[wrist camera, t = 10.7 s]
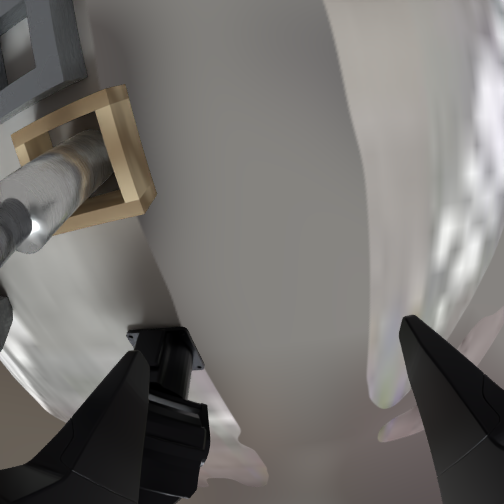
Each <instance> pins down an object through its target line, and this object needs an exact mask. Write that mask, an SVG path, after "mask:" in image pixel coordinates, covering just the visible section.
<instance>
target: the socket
mask: <svg viewBox="0 0 504 504" xmlns="http://www.w3.org/2000/svg"><path fill="white" fill-rule="evenodd" d="M26 17H27V18H28V25H29V32H30V38H31V44H32V49H33V54H34V59H35V64H36V68H34V69H33V70H31V71H30V72H28V73H26V74H25V75H23V76H22V77H20V78H19V79H17V80H16V81H14V82H13V83H11V84H10V85H8V82H7V78H6V73H5V68H4V62H3V57H2V51H1V45H0V124H2V123H3V122H5V121H7V120H8V119H10V118H11V117H13V116H14V115H16V114H18V113H19V112H21V111H23V110H24V109H26V108H28V107H29V106H31V105H33V104H35V103H36V102H38V101H40V100H42V99H44V98H45V97H47V96H49V95H51V94H53V93H55V92H57V91H59V90H61V89H63V88H65V87H67V86H69V85H71V84H73V83H75V82H77V81H79V80H82V79H84V78H86V77H88V76H87V72H86V68H85V63H84V59H83V55H82V50H81V45H80V40H79V36H78V30H77V25H76V20H75V14H74V8H73V2H72V0H0V36H1V35H2V34H4V33H5V32H6V31H8V30H9V29H10V28H12V27H13V26H14V25H16V24H17V23H18V22H20V21H21V20H23V19H24V18H26Z"/></svg>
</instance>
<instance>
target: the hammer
mask: <svg viewBox="0 0 504 504" xmlns="http://www.w3.org/2000/svg"><path fill="white" fill-rule="evenodd" d="M12 321H13V311H12V307H11V305H10V302H9V299H8V297H4V296H1V295H0V352H1V350H2V349H3V346H4V343H5V341H6V338H7V336H8V333H9V330H10V327H11V324H12Z"/></svg>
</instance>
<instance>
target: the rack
mask: <svg viewBox="0 0 504 504" xmlns="http://www.w3.org/2000/svg"><path fill="white" fill-rule="evenodd" d="M93 111H95V112H96V116H97V119H98V123H99V126H100V130H101V133H102V136H103V139H104V143H105V146H106V149H107V152H108V155H109V158H110V161H111V164H112V167H113V170H114V173H115V176H116V179H117V182H118V185H119V187H120V190H116V191H112V192H109V193H105V194H101V195H98V196H94V197H91V198H87V199H86V200H85V201H84V202H83V203H82V204H81V205H80V206H79V207H78V208H77V210H76V211H75V212H74V213H73V214H72V215H71V216H70V217H69V218H68V219H67V220H66V221H65V222H64V223H63V224H62V226H61V227H60V228H59V229H58V230H57V231H56V232H55V233H54V234H53V236H54V235H58V234H62V233H66V232H70V231H74V230H78V229H82V228H86V227H90V226H94V225H98V224H102V223H107V222H111V221H115V220H120V219H124V218H129V217H133V216H138V215H142V214H145V212H146V211H147V209H148V208H149V206H150V205H151V203H152V201H153V200H154V198H155V197H156V195H157V192H156V189H155V186H154V183H153V180H152V177H151V173H150V170H149V167H148V164H147V161H146V157H145V154H144V151H143V147H142V144H141V140H140V137H139V133H138V130H137V126H136V123H135V119H134V115H133V112H132V108H131V104H130V101H129V97H128V93H127V89H126V86H125V84H124V85H119V86H115V87H110V88H106V89H103V90H101V91H98V92H96V93H94V94H91V95H89V96H86V97H84V98H82V99H80V100H77V101H75V102H73V103H71V104H69V105H66V106H64V107H62V108H60V109H58V110H56V111H54V112H52V113H50V114H48V115H46V116H44V117H42V118H40V119H38V120H37V121H35V122H33V123H31V124H29V125H27V126H26V127H24V128H22V129H20V130H19V131H17V132H15V133H13V134H12V135H11V138H12V141H13V144H14V147H15V150H16V153H17V156H18V159H19V161H20V164H21V167H22V166H24V165H25V164H27V163H28V162H30V161H32V160H33V159H35V158H36V157H38V156H40V155H41V154H43V153H45V152H46V151H48V150H50V149H52V148H53V146H52V143H51V140H50V137H49V133H48V131H49V130H52V129H54V128H56V127H58V126H60V125H62V124H64V123H67V122H69V121H71V120H74V119H76V118H78V117H81V116H83V115H85V114H88V113H90V112H93Z"/></svg>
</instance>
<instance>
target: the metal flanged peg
mask: <svg viewBox="0 0 504 504" xmlns="http://www.w3.org/2000/svg"><path fill="white" fill-rule="evenodd" d="M113 171H114V170H113V167H112V164H111V161H110V158H109V155H108V152H107V149H106V146H105V143H104V139H103V136H102V133H101V132H100V131H97V130H85V131H83V132H81V133H79V134H77V135H75V136H73V137H71V138H69V139H67V140H66V141H64V142H62V143H60V144H58V145H57V146H55V147H53V148H52V149H50V150H48V151H46V152H45V153H43V154H41V155H40V156H38V157H36V158H35V159H33V160H32V161H30V162H28V163H27V164H25V165H24V166H22V167H21V168H19V169H18V170H16V171H15V172H13V173H12V174H10V175H9V176H7V177H6V178H4V179H3V180H1V181H0V268H1V267H2V266H3V264H4V263H5V262H6V261H7V260H8V258H9V257H10V256H11V255H12V254H13V253H14V252H15V251H19V252H21V253H26V254H31V253H35V252H37V251H39V250H40V249H41V248H42V247H43V246H44V245H45V244H46V242H47V241H48V240H49V239H50V238H51V237H52V236H53V234H54V233H55V232H56V231H57V230H58V229H59V228H60V227H61V226H62V224H63V223H64V222H65V221H66V220H67V219H68V218H69V217H70V216H71V215H72V214H73V213H74V212H75V211H76V210H77V208H78V207H79V206H80V205H81V204H82V203H83V202H84V201H85V200H86V199H87V198H88V197H89V196H90V195H91V194H92V193H93V192H94V191H95V190H96V189H97V188H98V187H99V186H100V185H102V184H103V183H104V182H105V181H106V180H107V179H108V178H109V177H110V176H111V175H112V173H113Z"/></svg>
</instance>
